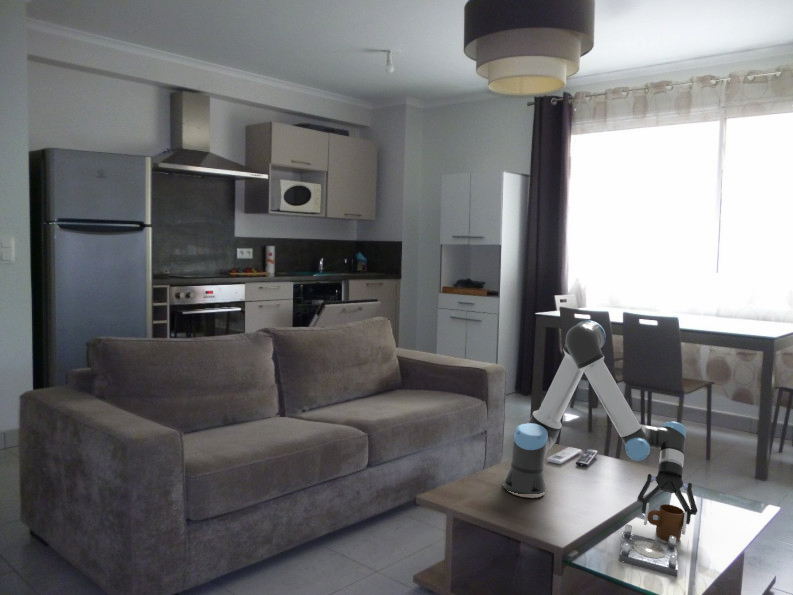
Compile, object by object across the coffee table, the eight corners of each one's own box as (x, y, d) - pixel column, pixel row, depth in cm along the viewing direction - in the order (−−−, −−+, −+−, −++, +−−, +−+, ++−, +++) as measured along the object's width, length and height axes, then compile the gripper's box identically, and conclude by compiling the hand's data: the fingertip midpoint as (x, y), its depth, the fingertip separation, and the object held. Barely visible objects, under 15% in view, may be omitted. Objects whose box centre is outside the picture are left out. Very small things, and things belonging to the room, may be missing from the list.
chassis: (618, 560, 195) (621, 545, 194) (621, 537, 209) (624, 522, 209) (676, 576, 189) (679, 560, 188) (675, 551, 204) (678, 536, 203)
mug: (651, 542, 208) (655, 515, 206) (638, 530, 215) (642, 503, 214) (685, 542, 210) (689, 514, 209) (671, 530, 217) (675, 503, 216)
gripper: (706, 478, 220) (702, 542, 208) (633, 462, 228) (625, 523, 216) (710, 468, 214) (705, 533, 202) (635, 453, 223) (626, 514, 211)
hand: (664, 528), depth 209 cm, fingers closed on mug, 11 cm apart
